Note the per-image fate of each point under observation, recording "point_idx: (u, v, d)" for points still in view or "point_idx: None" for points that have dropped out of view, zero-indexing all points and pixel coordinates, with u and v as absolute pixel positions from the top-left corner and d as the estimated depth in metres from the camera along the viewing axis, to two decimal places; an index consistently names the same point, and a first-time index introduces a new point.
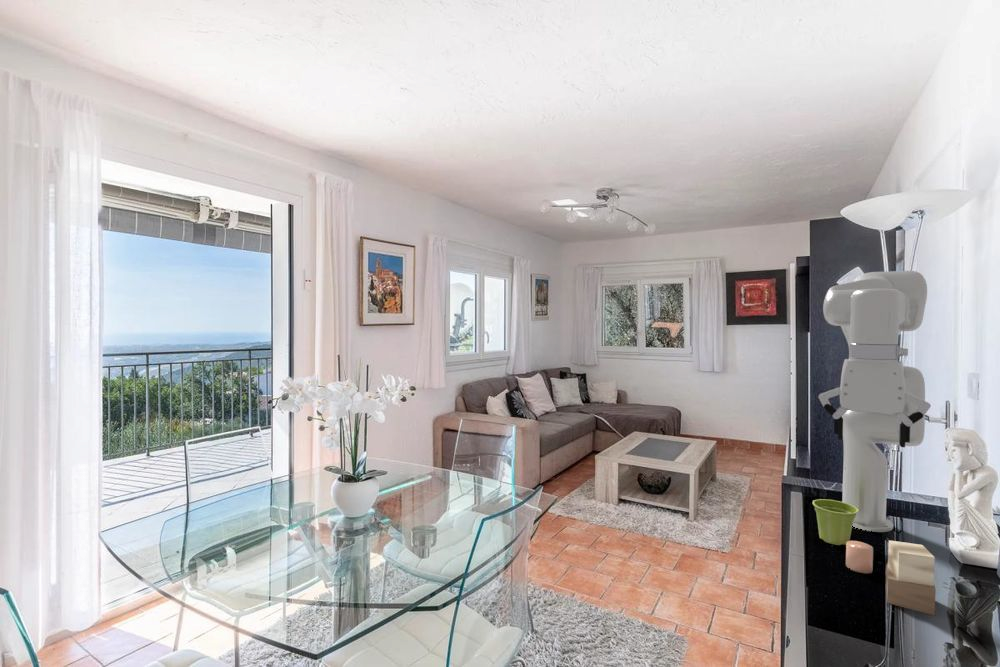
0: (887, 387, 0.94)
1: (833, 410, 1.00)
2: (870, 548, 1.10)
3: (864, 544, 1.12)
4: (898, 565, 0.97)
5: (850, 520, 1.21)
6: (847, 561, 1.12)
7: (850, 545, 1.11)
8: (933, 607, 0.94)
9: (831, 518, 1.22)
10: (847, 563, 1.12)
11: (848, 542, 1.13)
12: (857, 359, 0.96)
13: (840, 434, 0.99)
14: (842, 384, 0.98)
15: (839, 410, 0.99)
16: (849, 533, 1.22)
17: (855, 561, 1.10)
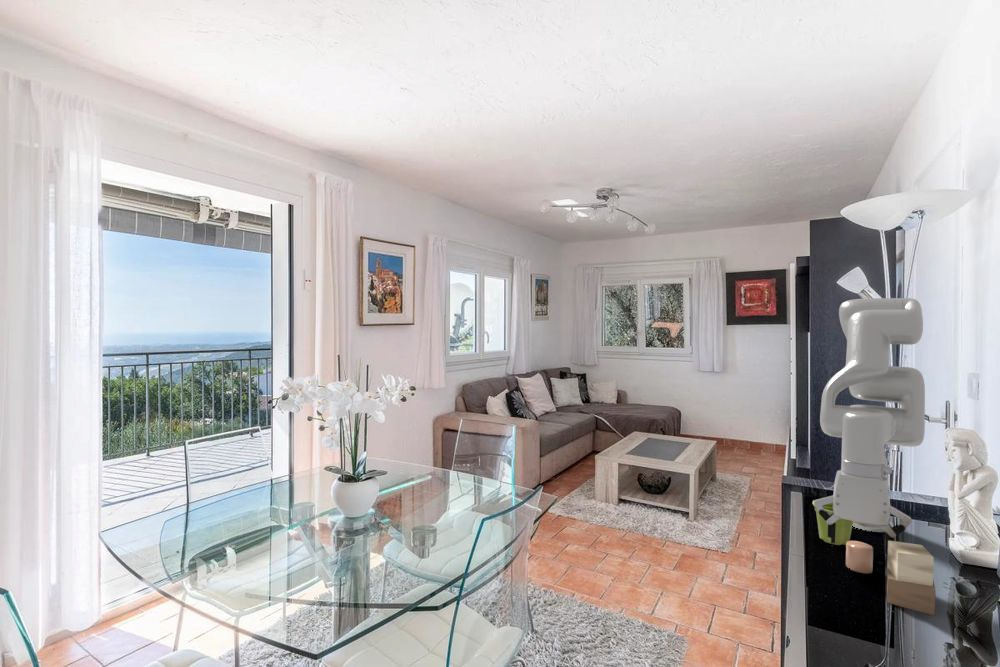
0: (874, 501, 1.07)
1: (827, 516, 1.14)
2: (870, 548, 1.10)
3: (864, 544, 1.12)
4: (897, 565, 0.97)
5: (850, 520, 1.21)
6: (847, 561, 1.12)
7: (850, 546, 1.11)
8: (933, 607, 0.94)
9: None
10: (847, 563, 1.12)
11: (848, 542, 1.13)
12: (848, 474, 1.10)
13: (833, 538, 1.12)
14: (835, 494, 1.12)
15: (832, 517, 1.13)
16: (849, 533, 1.22)
17: (855, 561, 1.10)
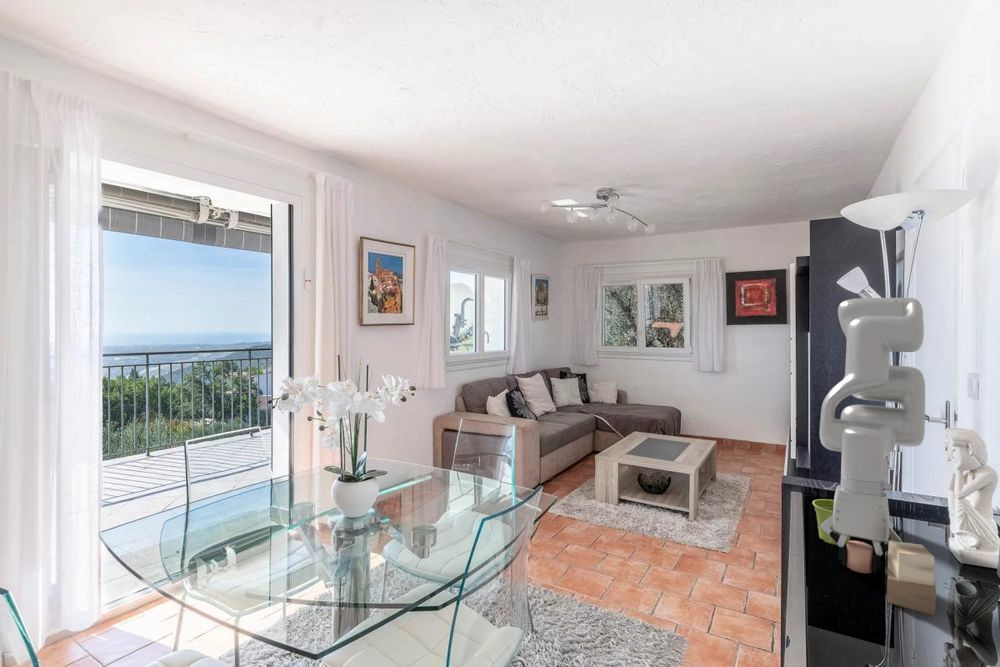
0: (873, 518, 1.08)
1: (836, 539, 1.13)
2: (870, 548, 1.10)
3: (864, 544, 1.12)
4: (898, 565, 0.97)
5: None
6: (847, 561, 1.12)
7: (850, 545, 1.11)
8: (933, 607, 0.94)
9: None
10: (847, 563, 1.12)
11: (848, 542, 1.13)
12: (847, 491, 1.10)
13: (844, 561, 1.12)
14: (834, 510, 1.12)
15: (840, 538, 1.12)
16: None
17: (855, 561, 1.10)
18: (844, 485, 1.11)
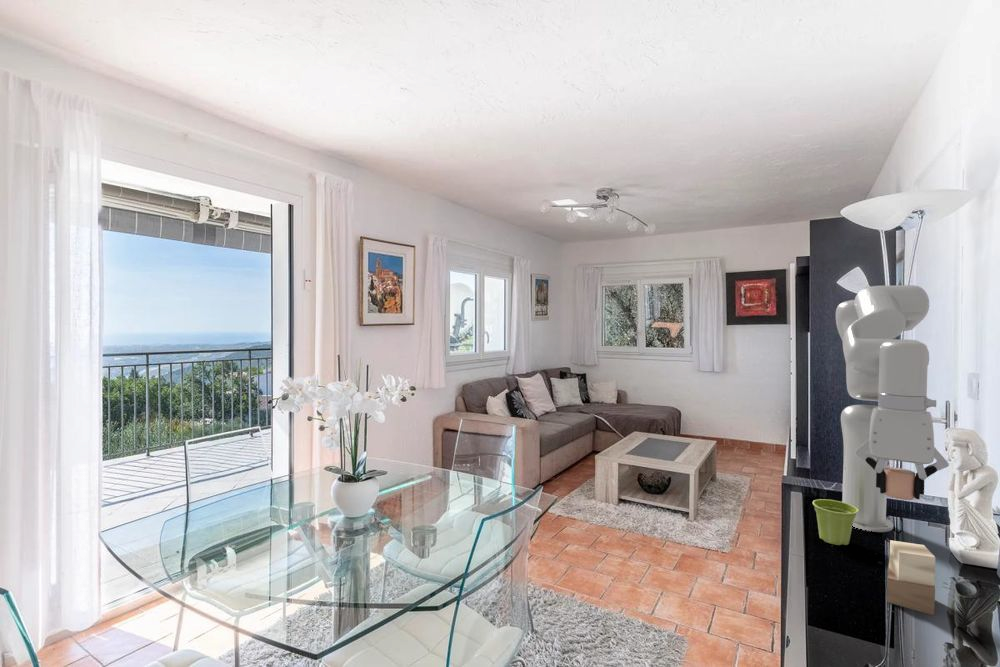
0: (916, 437, 0.97)
1: (873, 465, 1.03)
2: (912, 473, 0.99)
3: (905, 470, 1.01)
4: (898, 564, 0.97)
5: (850, 520, 1.21)
6: (886, 488, 1.01)
7: (889, 470, 1.01)
8: (933, 607, 0.94)
9: (831, 518, 1.22)
10: (886, 490, 1.01)
11: (886, 468, 1.02)
12: (886, 409, 1.00)
13: (882, 488, 1.01)
14: (871, 432, 1.02)
15: (878, 463, 1.02)
16: (849, 533, 1.22)
17: (895, 487, 0.99)
18: (882, 403, 1.01)
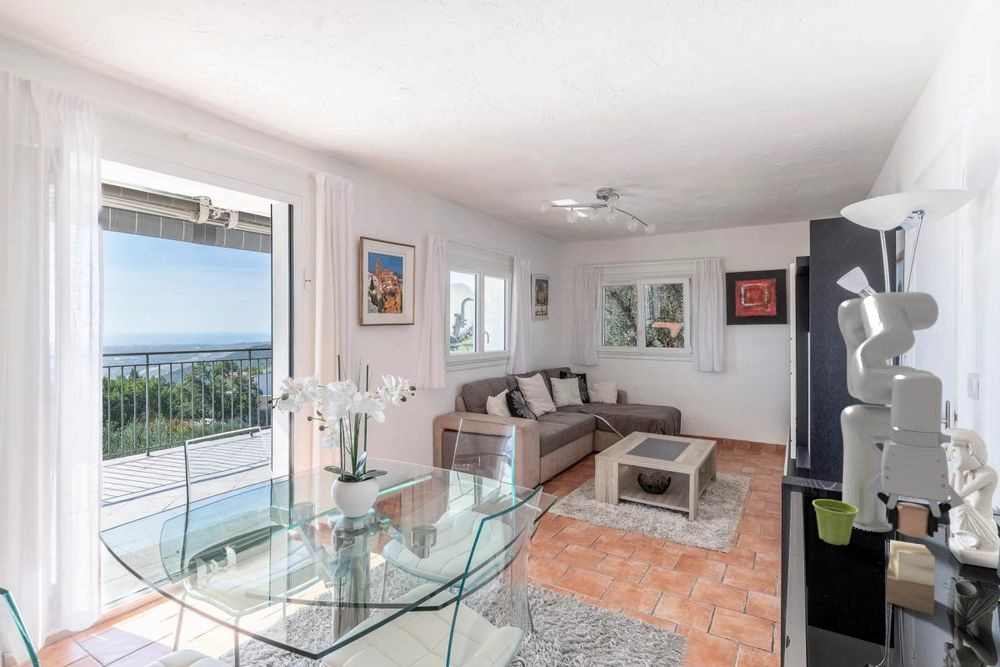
0: (930, 474, 0.95)
1: (885, 500, 1.00)
2: (925, 509, 0.97)
3: (917, 506, 0.99)
4: (898, 564, 0.98)
5: (850, 520, 1.21)
6: (898, 525, 0.98)
7: (902, 507, 0.98)
8: (932, 607, 0.94)
9: (831, 518, 1.22)
10: (898, 527, 0.98)
11: (899, 504, 1.00)
12: (899, 444, 0.97)
13: (895, 525, 0.98)
14: (884, 467, 0.99)
15: (890, 499, 0.99)
16: (849, 533, 1.22)
17: (909, 524, 0.97)
18: (895, 438, 0.98)
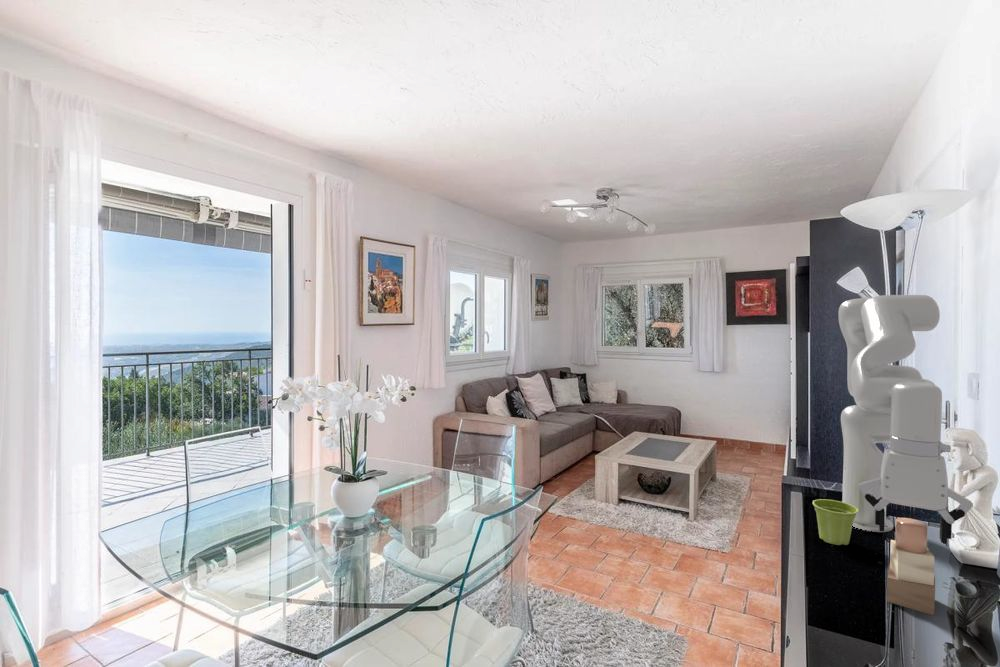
0: (930, 483, 0.95)
1: (874, 501, 1.01)
2: (924, 525, 0.97)
3: (916, 521, 0.99)
4: (897, 563, 0.98)
5: (850, 520, 1.21)
6: (897, 540, 0.99)
7: (901, 523, 0.98)
8: (933, 607, 0.94)
9: (831, 518, 1.22)
10: (897, 543, 0.99)
11: (897, 519, 1.00)
12: (899, 454, 0.97)
13: (882, 526, 1.00)
14: (883, 476, 0.99)
15: (880, 502, 1.00)
16: (849, 533, 1.22)
17: (907, 540, 0.97)
18: (895, 447, 0.98)
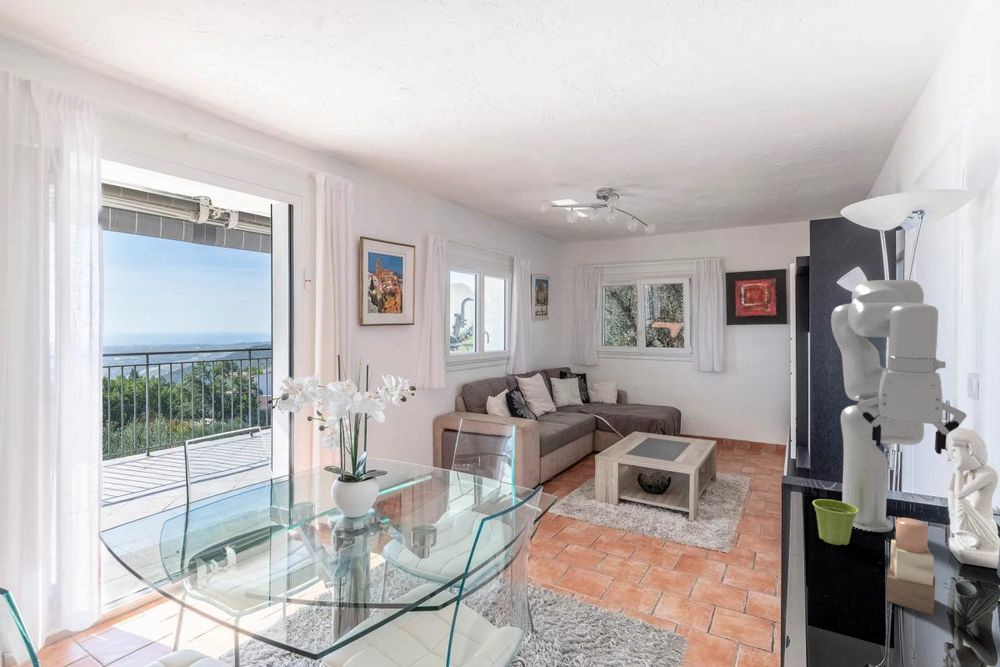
0: (925, 398, 1.00)
1: (872, 418, 1.06)
2: (924, 525, 0.97)
3: (917, 521, 0.99)
4: (896, 563, 0.98)
5: (850, 520, 1.21)
6: (897, 540, 0.99)
7: (901, 522, 0.99)
8: (932, 607, 0.94)
9: (831, 518, 1.22)
10: (897, 542, 0.99)
11: (898, 519, 1.00)
12: (896, 371, 1.02)
13: (878, 441, 1.05)
14: (881, 394, 1.04)
15: (878, 418, 1.05)
16: (849, 533, 1.22)
17: (907, 540, 0.97)
18: (892, 366, 1.03)
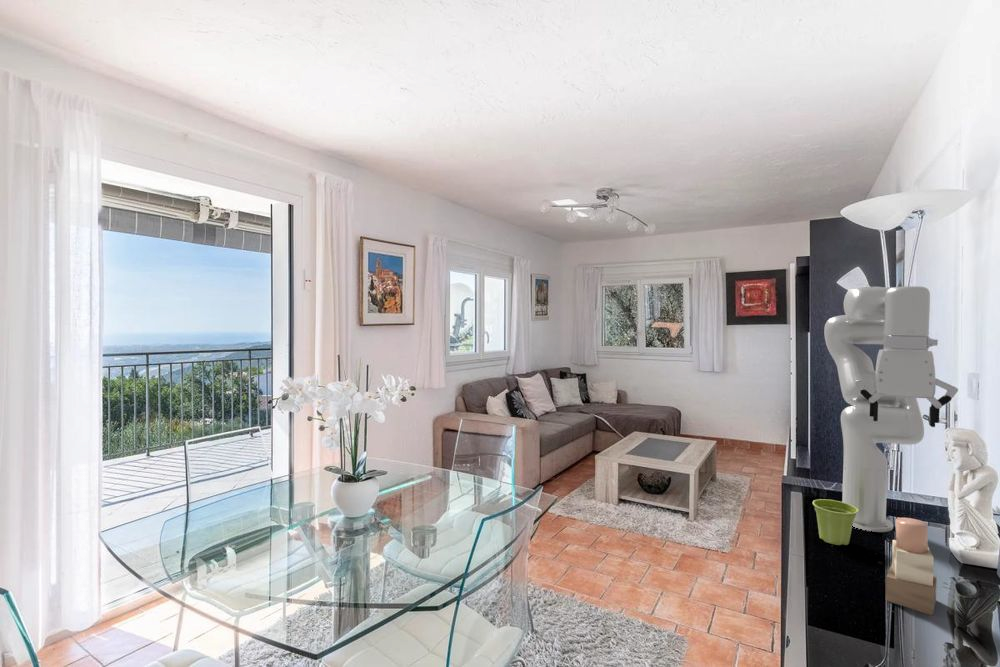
0: (919, 374, 1.06)
1: (869, 395, 1.12)
2: (924, 524, 0.97)
3: (917, 521, 0.99)
4: (896, 563, 0.98)
5: (850, 520, 1.21)
6: (897, 540, 0.99)
7: (900, 522, 0.99)
8: (931, 607, 0.94)
9: (831, 518, 1.22)
10: (897, 542, 0.99)
11: (898, 519, 1.00)
12: (892, 349, 1.08)
13: (875, 416, 1.11)
14: (877, 371, 1.10)
15: (875, 395, 1.11)
16: (849, 533, 1.22)
17: (907, 540, 0.97)
18: (888, 344, 1.09)
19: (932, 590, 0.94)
